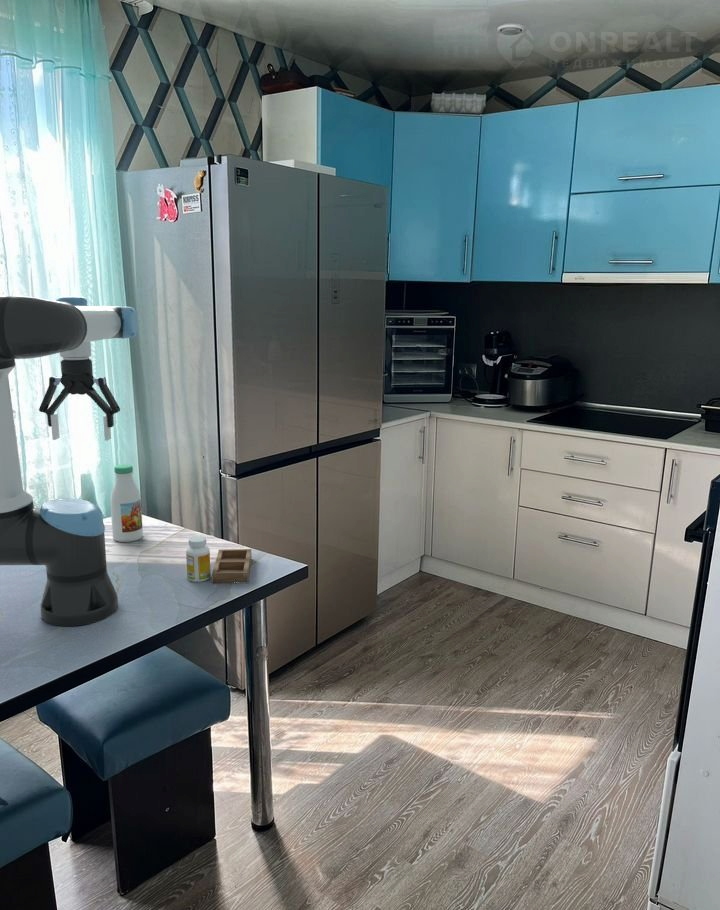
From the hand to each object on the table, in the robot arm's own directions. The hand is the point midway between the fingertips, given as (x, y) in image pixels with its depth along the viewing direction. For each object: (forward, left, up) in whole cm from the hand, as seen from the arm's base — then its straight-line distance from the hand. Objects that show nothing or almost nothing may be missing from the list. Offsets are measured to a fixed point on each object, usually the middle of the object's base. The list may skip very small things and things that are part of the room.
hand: (82, 439), depth 190 cm
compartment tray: (-27, -41, -27) cm, 55 cm away
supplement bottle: (-31, -33, -27) cm, 53 cm away
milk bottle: (-3, -11, -27) cm, 29 cm away
